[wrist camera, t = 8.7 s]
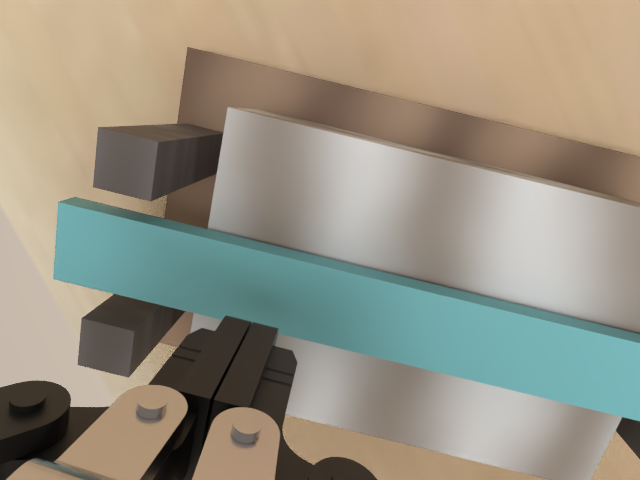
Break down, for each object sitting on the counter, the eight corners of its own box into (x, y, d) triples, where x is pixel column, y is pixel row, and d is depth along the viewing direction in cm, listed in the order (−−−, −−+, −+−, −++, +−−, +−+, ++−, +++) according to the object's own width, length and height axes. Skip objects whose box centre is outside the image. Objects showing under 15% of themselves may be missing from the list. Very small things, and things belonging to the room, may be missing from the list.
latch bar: (739, 356, 17) (778, 379, 15) (702, 419, 18) (736, 448, 16) (80, 195, 17) (52, 203, 15) (74, 267, 18) (47, 281, 16)
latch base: (689, 171, 23) (936, 211, 13) (570, 424, 27) (688, 592, 18) (201, 52, 23) (92, 7, 13) (162, 323, 27) (59, 435, 18)
